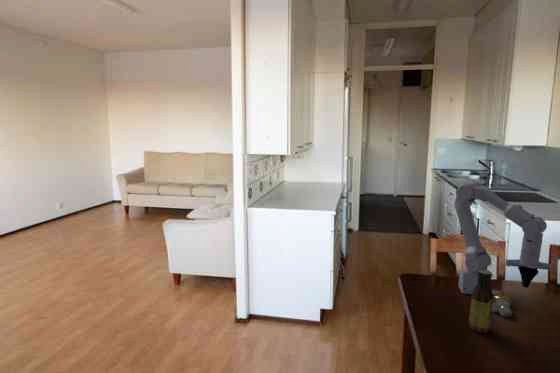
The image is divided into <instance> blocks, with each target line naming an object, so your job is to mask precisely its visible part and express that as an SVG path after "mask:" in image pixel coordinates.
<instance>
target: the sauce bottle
mask: <svg viewBox="0 0 560 373" xmlns="http://www.w3.org/2000/svg"><path fill="white" fill-rule="evenodd" d="M492 277H493V273H492V272H491V271H489V270H488V269H487V270H478V281H477V283H478V284H477V285H476V286H475V287H474V288H473V293H472V294H471V300H470V301H471V302H470V310H469V320H468V322H469V323H468V326H469V328H470V329H471V330H473V331H474V332H477V333H482V334H486V333H488V332H489V331H490V328H491V323H492V315H493V314H492V313H493V312H492V306H493V293H492V290H493V288H492V286H491V284H492V283H491V282H492V281H491V280H492Z"/></svg>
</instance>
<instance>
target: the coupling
mask: <svg viewBox="0 0 560 373" xmlns="http://www.w3.org/2000/svg"><path fill="white" fill-rule="evenodd" d="M493 296H494V297H495V299H496V300H504V301H507V302H508V304H509V308H511V297H510V296H508V295H501V296H500V295H493Z"/></svg>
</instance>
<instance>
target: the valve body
mask: <svg viewBox="0 0 560 373" xmlns="http://www.w3.org/2000/svg"><path fill="white" fill-rule="evenodd" d="M492 293H493V295H500V296H502V292H501V291H500V290H496V289H492ZM492 313H499V314H500V315H501V317H502V318H509V317H511V316H512V313H513V311H512V310H511V307H509V304H508V302H507V301H504V300H496V299H495V297H494V296H493V306H492Z"/></svg>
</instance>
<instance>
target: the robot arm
mask: <svg viewBox="0 0 560 373" xmlns="http://www.w3.org/2000/svg"><path fill="white" fill-rule="evenodd" d="M476 200H478V201H480V200H482V201H486V202H488V203H489V204H490V205H492V206H494V207H495V208H497V209H498V210H500V211H502V212H503V214H504V217H505V218H507V219H508V220H509V221H511V222H513V223H514V224H515V225H517V226H518V227H519V228H521V230H522V232H523V237H522V242H521V243H522V244H521V250H520V255H519V259H505V263H504V265H505V266H506V267H517V269H518V271H519V274H520V278H521V285H522V287H523V288H526V289H527V288H529V287H530V285H531V282H532V281H533V280H534V278H535V277H536V276H537V275H539V270H547V271H549V272H550V271H551V272H552V271H553V265H552V264H551V263H546V262H540V257H541V250H542V245H543V236H544V232H545V231H546V230H547V226H548V224H547V222H546V220H544V219H543V218H542V217H540V216H535V215H536V214H534V213H530V212H528V211H527V210H526V209H524V208H523V206H522V205H520V204H516V203H515V204H510V203H509V202H507V201H506V200H504V199H503V198H502V197H500V196H499V195H498V194H497V193H494V192H493V191H492V190H491V189H489V188H488V187H487V185H484V184H482V183H481V182H478V181H472V182H468V183H461V184H460V185H459V186H458V187H457V189H456V190H455V199H454V208H455V209H454V210H455V212H456V216H457V218H458V223H459V227H460V229H461V232H462V236H463V239H464V243H465V246H466V249H465V252H464V258H465V259H464V264H465V268H464V267H463V268H460V269H459V270H460V271H459V276H458V284H457V285H458V288H459V290H460V291H461V293H462V294H467V295H468V294H469V295H472V293H473V288H474V287H475V286H476V285H477V284H478V283H477V281H478V270H487V271H488V268H489V266H490V265H491V264H492V258H491V256H490V255H489V253H488V251H487V250H486V249H487V248H486V247H484V246H483V245H482V242H481V240H480V237H479V233H478V232H479V231H478V229H477V226H476V223H475V220H474V216H473V213H472V210H471V209H472V208H471V206H472V205H473V204H474V202H475V201H476Z"/></svg>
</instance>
